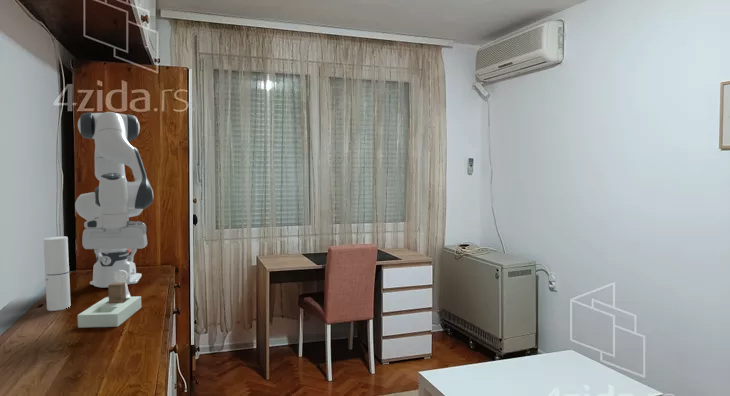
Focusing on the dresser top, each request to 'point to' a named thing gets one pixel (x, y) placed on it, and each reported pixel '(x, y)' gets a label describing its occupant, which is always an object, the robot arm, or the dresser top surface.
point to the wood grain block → (117, 292)
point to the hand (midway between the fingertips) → (116, 261)
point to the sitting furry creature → (122, 279)
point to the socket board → (109, 313)
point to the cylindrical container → (57, 273)
